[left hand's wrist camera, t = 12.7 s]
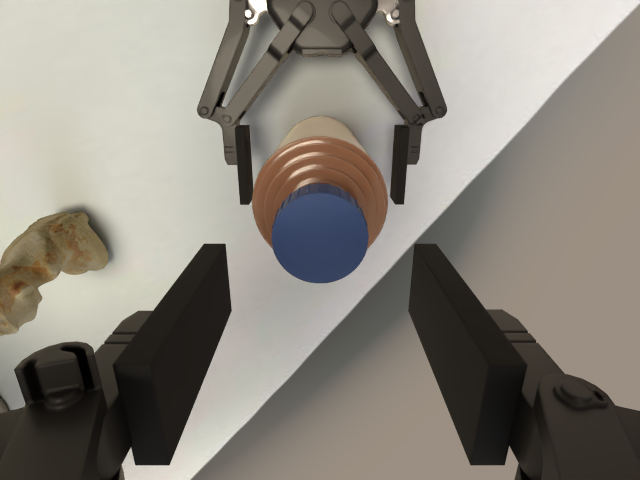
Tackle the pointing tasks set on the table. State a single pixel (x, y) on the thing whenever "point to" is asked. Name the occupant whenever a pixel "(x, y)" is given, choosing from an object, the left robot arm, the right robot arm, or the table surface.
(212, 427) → the table surface
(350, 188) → the bottle
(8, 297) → the sculpture
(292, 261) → the cap
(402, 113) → the right robot arm
